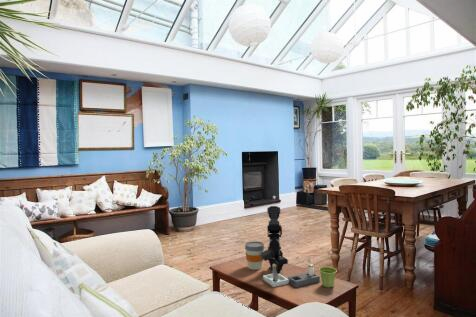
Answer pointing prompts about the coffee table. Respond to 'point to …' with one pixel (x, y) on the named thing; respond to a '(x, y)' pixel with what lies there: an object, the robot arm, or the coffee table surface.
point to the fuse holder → (303, 279)
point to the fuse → (310, 270)
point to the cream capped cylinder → (275, 273)
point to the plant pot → (328, 276)
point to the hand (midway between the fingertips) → (275, 271)
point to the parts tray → (281, 281)
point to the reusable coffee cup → (254, 254)
